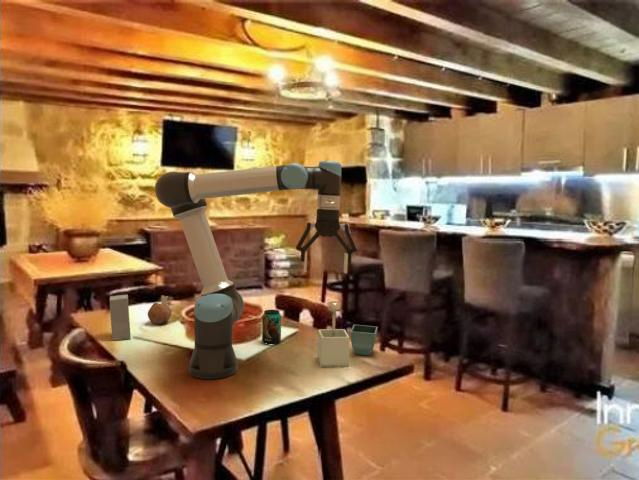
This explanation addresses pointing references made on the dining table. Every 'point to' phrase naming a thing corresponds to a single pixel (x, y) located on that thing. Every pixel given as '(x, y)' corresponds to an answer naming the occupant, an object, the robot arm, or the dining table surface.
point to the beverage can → (271, 327)
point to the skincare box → (120, 317)
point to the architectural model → (164, 301)
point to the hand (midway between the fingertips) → (325, 272)
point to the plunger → (333, 307)
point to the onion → (159, 313)
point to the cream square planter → (333, 348)
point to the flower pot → (363, 339)
